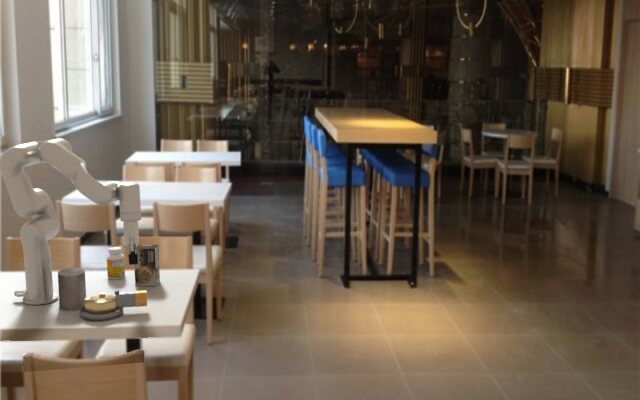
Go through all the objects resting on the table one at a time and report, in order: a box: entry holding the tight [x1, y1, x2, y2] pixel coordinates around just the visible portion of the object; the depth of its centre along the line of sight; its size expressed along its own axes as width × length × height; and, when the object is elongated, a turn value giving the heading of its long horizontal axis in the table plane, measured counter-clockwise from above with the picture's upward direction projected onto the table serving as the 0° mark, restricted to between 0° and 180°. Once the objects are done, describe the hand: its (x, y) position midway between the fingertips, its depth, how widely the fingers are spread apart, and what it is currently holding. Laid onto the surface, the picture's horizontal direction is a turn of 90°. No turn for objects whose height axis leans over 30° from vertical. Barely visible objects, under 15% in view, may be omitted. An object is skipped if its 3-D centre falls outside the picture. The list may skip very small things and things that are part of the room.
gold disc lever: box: [84, 290, 148, 314], centre depth 258 cm, size 22×12×6 cm, turn 103°
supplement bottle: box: [106, 246, 126, 281], centre depth 302 cm, size 7×7×13 cm
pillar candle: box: [57, 267, 87, 312], centre depth 265 cm, size 10×10×15 cm
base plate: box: [79, 307, 124, 323], centre depth 258 cm, size 15×15×2 cm
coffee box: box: [133, 244, 161, 287], centre depth 293 cm, size 9×6×16 cm
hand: (133, 263), depth 266 cm, fingers closed
